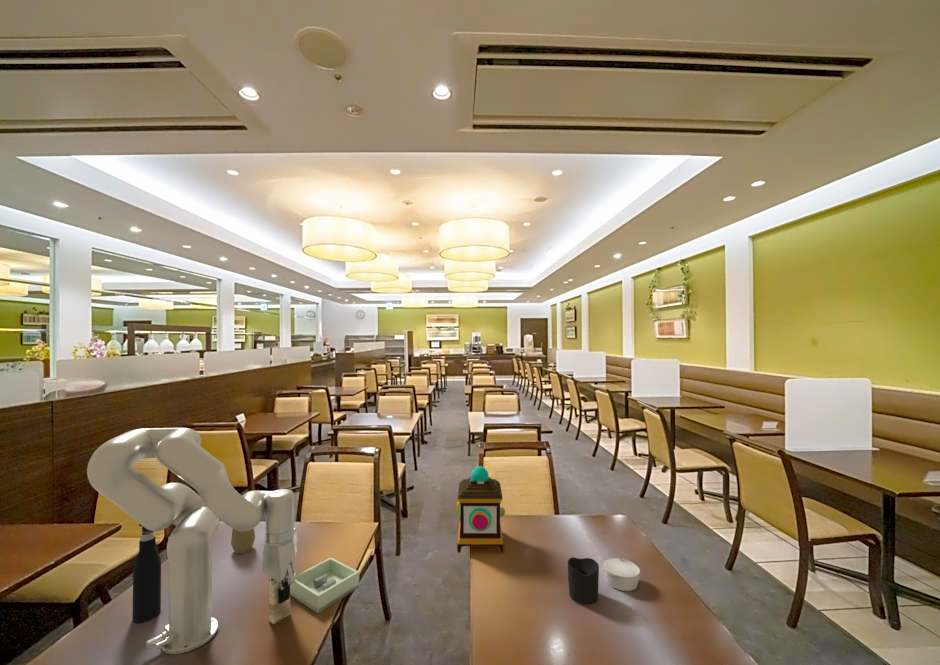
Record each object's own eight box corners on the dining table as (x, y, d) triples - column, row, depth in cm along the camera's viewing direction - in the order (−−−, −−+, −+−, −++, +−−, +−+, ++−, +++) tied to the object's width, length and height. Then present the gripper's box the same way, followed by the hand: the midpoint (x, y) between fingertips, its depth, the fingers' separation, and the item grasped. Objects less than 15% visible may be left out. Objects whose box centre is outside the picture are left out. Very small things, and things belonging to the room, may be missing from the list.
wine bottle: (137, 626, 113) (138, 519, 113) (128, 618, 116) (129, 514, 116) (164, 613, 118) (165, 511, 118) (155, 605, 121) (156, 506, 122)
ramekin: (645, 582, 132) (645, 566, 132) (632, 598, 124) (632, 581, 124) (612, 569, 140) (612, 554, 140) (598, 583, 132) (598, 567, 132)
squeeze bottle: (259, 548, 155) (259, 501, 155) (237, 557, 148) (238, 508, 148) (247, 542, 159) (248, 496, 159) (226, 551, 152) (226, 504, 152)
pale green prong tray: (318, 613, 118) (318, 596, 118) (289, 594, 127) (289, 578, 127) (359, 587, 130) (359, 571, 130) (330, 571, 139) (330, 557, 139)
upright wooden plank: (273, 624, 113) (273, 585, 114) (268, 620, 115) (269, 582, 115) (290, 614, 117) (290, 576, 118) (285, 611, 119) (285, 573, 119)
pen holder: (577, 583, 132) (577, 552, 132) (604, 596, 125) (604, 564, 125) (562, 596, 125) (561, 564, 125) (589, 610, 119) (589, 576, 119)
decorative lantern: (507, 556, 149) (506, 474, 149) (453, 555, 149) (453, 474, 149) (503, 530, 169) (502, 458, 169) (456, 530, 169) (456, 458, 169)
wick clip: (324, 594, 125) (324, 586, 125) (314, 587, 128) (314, 579, 128) (335, 587, 128) (335, 579, 128) (324, 581, 132) (324, 573, 132)
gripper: (252, 531, 118) (252, 594, 118) (283, 548, 109) (282, 617, 108) (277, 522, 124) (276, 581, 124) (308, 537, 115) (308, 602, 114)
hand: (279, 597), depth 116 cm, fingers open, 3 cm apart
